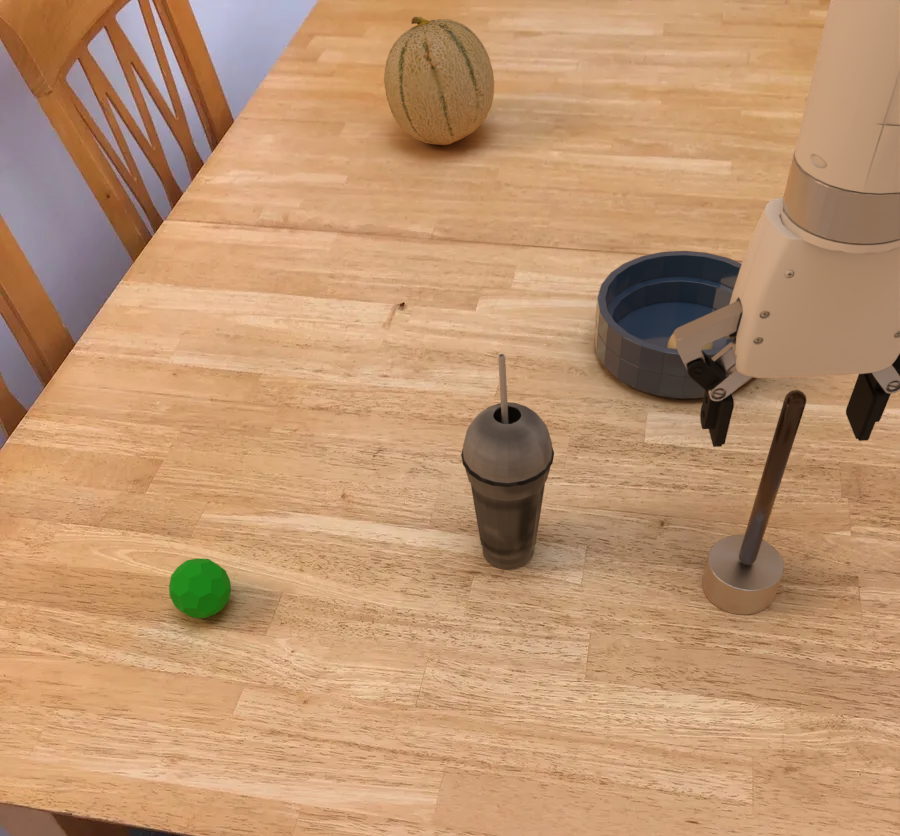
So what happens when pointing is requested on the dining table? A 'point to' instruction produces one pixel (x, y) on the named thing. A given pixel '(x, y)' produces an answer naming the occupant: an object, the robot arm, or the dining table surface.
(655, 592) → the dining table surface
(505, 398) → the beverage cup
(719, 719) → the dining table surface
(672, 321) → the bowl
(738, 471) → the dining table surface
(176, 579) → the polyhedron
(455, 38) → the cantaloupe
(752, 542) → the weighted rod stand
